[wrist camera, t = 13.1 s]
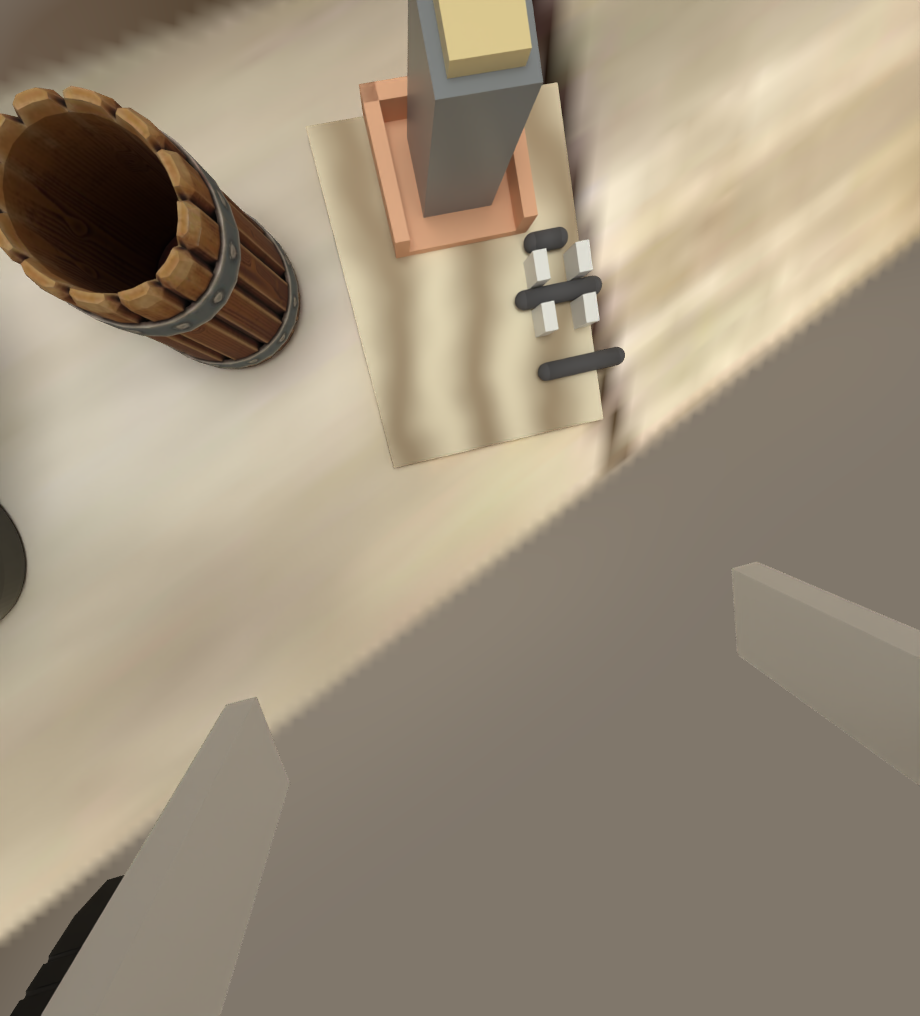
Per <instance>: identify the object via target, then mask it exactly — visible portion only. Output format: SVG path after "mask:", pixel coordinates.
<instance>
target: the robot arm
mask: <svg viewBox="0 0 920 1016" xmlns="http://www.w3.org/2000/svg"><path fill="white" fill-rule="evenodd" d="M24 575H25V559H24V553H23V548H22V544H21V541H20V538H19V536H18V533H17V531H16V529H15V527H14V525H13V523H12V522H11V520H10V519H9V517H8V516H7V514H6V513H5V511H4V510H3V509H2V508H1V506H0V620H1V619H2V618H3V617H4V616H5V615H6V614H7V613H8V612H9V611H10V609H11V608H12V607H13V605H14V604H15V602H16V600H17V598H18V596H19V594H20V592H21V589H22V585H23V581H24ZM732 582H733V597H734V612H735V627H736V643H737V654H738V655H739V656H740V657H742V658H743V659H744V660H746V661H747V662H749V663H750V664H752V665H753V666H754V667H756V668H757V669H758V670H760V671H761V672H762V673H764V674H765V675H766V676H768V677H769V678H771V679H772V680H773V681H775V682H776V683H777V684H779V685H780V686H782V687H783V688H784V689H786V690H787V691H789V692H790V693H791V694H793V695H794V696H795V697H797V698H798V699H800V700H801V701H802V702H804V703H805V704H807V705H808V706H809V707H811V708H812V709H813V710H815V711H816V712H818V713H819V714H820V715H822V716H823V717H824V718H826V719H827V720H829V721H830V722H831V723H833V724H834V725H836V726H837V727H839V728H840V729H841V730H842V731H844V732H845V733H847V734H848V735H849V736H851V737H852V738H854V739H855V740H856V741H858V742H859V743H860V744H862V745H863V746H865V747H866V748H867V749H869V750H870V751H872V752H873V753H874V754H876V755H877V756H878V757H880V758H881V759H883V760H884V761H885V762H887V763H888V764H889V765H891V766H892V767H894V768H895V769H896V770H898V771H899V772H900V773H902V774H903V775H905V776H906V777H907V778H909V779H910V780H911V781H913V782H914V783H916V784H917V785H918V786H920V631H919V630H917V629H914V628H912V627H910V626H907V625H905V624H903V623H900V622H898V621H896V620H893V619H891V618H889V617H886V616H884V615H881V614H879V613H876V612H874V611H872V610H870V609H867V608H865V607H863V606H860V605H858V604H855V603H853V602H851V601H848V600H846V599H843V598H841V597H839V596H836V595H834V594H832V593H829V592H827V591H825V590H822V589H820V588H818V587H815V586H813V585H811V584H808V583H806V582H803V581H801V580H799V579H796V578H794V577H791V576H789V575H787V574H784V573H782V572H780V571H778V570H775V569H773V568H770V567H768V566H766V565H763V564H761V563H759V562H754V563H750V564H747V565H743V566H739V567H736V568H732ZM289 784H290V782H289V779H288V777H287V774H286V771H285V769H284V766H283V764H282V761H281V759H280V756H279V753H278V751H277V748H276V745H275V743H274V740H273V738H272V735H271V733H270V730H269V727H268V725H267V722H266V720H265V717H264V714H263V712H262V709H261V707H260V704H259V702H258V699H257V697H254V698H250V699H246V700H243V701H239V702H235V703H231V704H228V705H226V706H225V708H224V709H223V711H222V713H221V714H220V716H219V718H218V719H217V721H216V723H215V724H214V726H213V728H212V729H211V731H210V733H209V734H208V736H207V738H206V740H205V741H204V743H203V745H202V746H201V748H200V750H199V751H198V753H197V755H196V756H195V758H194V760H193V761H192V763H191V765H190V766H189V768H188V770H187V771H186V773H185V775H184V776H183V778H182V780H181V781H180V783H179V785H178V786H177V788H176V790H175V791H174V793H173V795H172V797H171V798H170V800H169V802H168V803H167V805H166V807H165V808H164V810H163V812H162V813H161V815H160V817H159V818H158V820H157V822H156V823H155V825H154V827H153V828H152V830H151V832H150V833H149V835H148V837H147V838H146V840H145V842H144V844H143V845H142V847H141V849H140V850H139V852H138V854H137V855H136V857H135V859H134V860H133V862H132V864H131V865H130V867H129V869H128V870H127V872H126V874H125V875H123V876H119V877H116V878H113V879H109V880H107V881H106V882H105V883H104V884H103V885H102V887H101V888H100V889H99V890H98V891H97V892H96V893H95V894H94V895H93V896H92V897H91V899H90V900H89V901H88V902H87V903H86V904H85V905H84V906H83V907H82V908H81V910H80V911H79V912H78V913H77V914H76V915H75V916H74V918H73V919H72V921H71V922H70V924H69V925H68V927H67V929H66V930H65V932H64V933H63V935H62V936H61V938H60V939H59V941H58V942H57V944H56V945H55V947H54V949H53V950H52V952H51V953H50V955H49V960H48V963H46V964H43V966H42V967H41V969H40V970H39V972H38V973H37V975H36V976H35V978H34V980H33V981H32V982H31V984H30V986H29V987H28V989H27V990H26V996H25V998H24V999H23V1000H20V1001H19V1003H18V1004H17V1006H16V1007H15V1009H14V1010H13V1012H12V1014H11V1015H10V1016H220V1015H221V1011H222V1008H223V1005H224V1001H225V998H226V995H227V991H228V988H229V984H230V981H231V978H232V974H233V971H234V968H235V964H236V961H237V958H238V955H239V951H240V948H241V945H242V941H243V938H244V934H245V931H246V928H247V925H248V921H249V918H250V915H251V911H252V908H253V905H254V901H255V898H256V895H257V891H258V888H259V885H260V881H261V878H262V874H263V871H264V868H265V864H266V861H267V858H268V854H269V851H270V848H271V844H272V841H273V838H274V834H275V831H276V828H277V824H278V821H279V818H280V814H281V810H282V808H283V804H284V801H285V798H286V794H287V791H288V788H289Z"/></svg>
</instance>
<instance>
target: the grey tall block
mask: <svg viewBox="0 0 920 1016" xmlns="http://www.w3.org/2000/svg"><path fill="white" fill-rule="evenodd" d="M542 83H543V78H542V71H541V64H540V56H539V49H538V42H537V34H536V27H535V20H534V13H533V5H532V0H408V72H407V140H408V145H409V150H410V155H411V159H412V164H413V169H414V174H415V179H416V184H417V189H418V193H419V198H420V203H421V208H422V213H423V218H426V217H431V216H436V215H442V214H447V213H453V212H458V211H463V210H469V209H474V208H479V207H485V206H490V205H492V202H493V200H494V198H495V195H496V193H497V190H498V188H499V186H500V183H501V181H502V179H503V176H504V174H505V171H506V169H507V167H508V164H509V162H510V159H511V157H512V155H513V152H514V150H515V148H516V145H517V143H518V140H519V138H520V136H521V133H522V131H523V129H524V126H525V124H526V121H527V119H528V117H529V114H530V112H531V110H532V107H533V105H534V102H535V100H536V98H537V95H538V93H539V91H540V88H541V86H542Z"/></svg>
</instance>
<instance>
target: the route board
mask: <svg viewBox="0 0 920 1016" xmlns="http://www.w3.org/2000/svg"><path fill="white" fill-rule="evenodd" d="M524 127H525V134H526V140H527V147H528V153H529V160H530V166H531V173H532V179H533V186H534V192H535V199H536V205H537V211H538V216H537V217H536V219H535V220H534V222H533V223H532V224H531V226H530V227H529V229H528V230H527V232H526V233H521V234H516V235H511V236H506V237H501V238H496V239H491V240H486V241H481V242H476V243H471V244H466V245H461V246H456V247H451V248H446V249H441V250H436V251H431V252H426V253H421V254H416V255H411V256H406V257H401V258H396V256H395V251H394V247H393V243H392V238H391V234H390V230H389V225H388V221H387V217H386V212H385V208H384V204H383V199H382V195H381V191H380V186H379V182H378V178H377V173H376V169H375V164H374V160H373V156H372V151H371V147H370V143H369V138H368V134H367V130H366V125H365V121H364V117H357V118H352V119H346V120H340V121H334V122H329V123H323V124H317V125H312V126H306V130H307V134H308V138H309V142H310V146H311V150H312V153H313V157H314V161H315V165H316V169H317V173H318V177H319V180H320V184H321V188H322V192H323V196H324V200H325V204H326V207H327V211H328V215H329V219H330V223H331V227H332V231H333V234H334V238H335V242H336V246H337V250H338V254H339V258H340V261H341V265H342V269H343V273H344V277H345V281H346V285H347V288H348V292H349V296H350V300H351V304H352V308H353V312H354V315H355V319H356V323H357V327H358V331H359V335H360V339H361V342H362V346H363V350H364V354H365V358H366V362H367V366H368V370H369V373H370V377H371V381H372V385H373V389H374V393H375V397H376V400H377V404H378V408H379V412H380V416H381V420H382V424H383V427H384V431H385V435H386V439H387V443H388V447H389V451H390V454H391V458H392V462H393V466H394V468H397V467H402V466H406V465H410V464H414V463H418V462H423V461H427V460H431V459H435V458H440V457H444V456H448V455H452V454H457V453H461V452H465V451H469V450H474V449H478V448H482V447H486V446H491V445H495V444H499V443H503V442H507V441H512V440H516V439H520V438H524V437H529V436H533V435H537V434H541V433H546V432H550V431H554V430H558V429H563V428H567V427H571V426H575V425H580V424H584V423H588V422H592V421H597V420H601V419H603V413H602V406H601V399H600V391H599V384H598V377H597V370H593V371H589V372H585V373H580V374H576V375H571V376H567V377H562V378H558V379H554V380H549V381H544V380H541V379H540V378H539V376H538V369H539V367H540V365H542V364H543V363H546V362H551V361H555V360H560V359H564V358H569V357H573V356H578V355H582V354H586V353H591V352H594V347H593V340H592V333H591V325H588V326H586V327H582V328H578V329H574V326H573V319H572V312H571V306H570V303H571V302H572V301H574V300H571V301H566V302H562V303H557V304H555V309H556V316H557V322H558V330H556V331H554V332H553V333H551V334H549V335H546V336H541V337H537V338H536V337H535V331H534V325H533V319H532V312H531V311H532V310H533V309H529V310H520V309H518V308H517V307H516V305H515V297H516V295H517V294H518V293H519V292H520V291H522V290H527V289H528V288H527V282H526V276H525V270H524V264H523V262H524V261H525V260H526V259H527V257H528V256H529V255H530V253H528V252H526V250H525V249H524V239H525V237H526V236H527V235H528V234H529V233H531V232H535V231H540V230H545V229H550V228H555V227H563V228H565V229H566V230H567V232H568V241H567V243H566V244H565V246H564V247H562V248H560V249H555V250H550V251H547V257H548V264H549V270H550V277H551V279H550V280H549V281H547V282H546V283H545V284H544V285H543V286H546V285H551V284H555V283H560V282H565V281H567V278H566V271H565V264H564V257H563V254H564V253H565V252H566V251H567V250H568V249H569V248H570V247H571V246H572V245H573V244H574V243H575V242H579V237H578V230H577V223H576V215H575V208H574V201H573V193H572V186H571V179H570V171H569V164H568V157H567V149H566V142H565V135H564V127H563V120H562V113H561V105H560V98H559V91H558V83H552V84H546V85H542V86H541V88H540V91H539V93H538V95H537V98H536V100H535V102H534V105H533V107H532V110H531V112H530V114H529V117H528V119H527V121H526V124H525V126H524ZM582 278H584V277H582ZM534 309H535V308H534Z"/></svg>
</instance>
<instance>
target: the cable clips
mask: <svg viewBox="0 0 920 1016" xmlns="http://www.w3.org/2000/svg"><path fill="white" fill-rule="evenodd" d="M563 257H564V264H565V271H566V278H567V281H570V280H574V279H579V278H582V277H584V276H585V275H586V274H588V273H589V272H590V271H592V270H593V267H592V259H591V252H590V244H589V240H584V241H579V242H575V243H574V244H573V245H572V246H571V247H570V248H569V249H568V250H567V251H566V252H565V253H564V254H563ZM523 264H524V270H525V276H526V282H527V288H528V289H531V288H536V287H541V286H543V285H544V284H545V283H546V282H547V281H549V280H550V279H551V277H550V270H549V264H548V257H547V250H546V248H544V249H540V250H535V251H532V252H531V254H530V255H529V256H528V257H527V259H526V260H525V261H524V262H523ZM570 306H571V312H572V319H573V326H574V329H578V328H582V327H586V326H588V325H591V324H593V323H595V322H597V321H599V313H598V305H597V298H596V292H592V293H587V294H583V295H581V296H580V297H578V298H577V299H575V300H574V301H572V302H571V303H570ZM531 312H532V319H533V325H534V331H535V337H536V338H537V337H541V336H546V335H549V334H551V333H553V332H554V331H556V330H558V322H557V316H556V309H555V303H554V301H550V302H545V303H541V304H540V305H538V306H537V307H536V308H535V309H533V310H532V311H531Z"/></svg>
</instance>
